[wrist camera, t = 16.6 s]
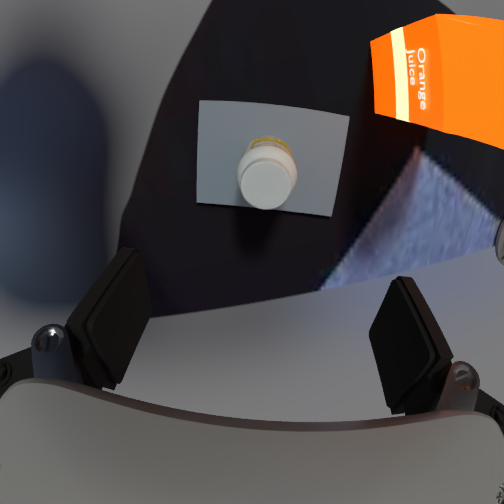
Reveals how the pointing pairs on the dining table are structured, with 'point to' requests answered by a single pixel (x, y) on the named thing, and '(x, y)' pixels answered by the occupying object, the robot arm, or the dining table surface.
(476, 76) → the orange juice
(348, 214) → the dining table surface
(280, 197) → the supplement bottle
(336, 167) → the felt mat
